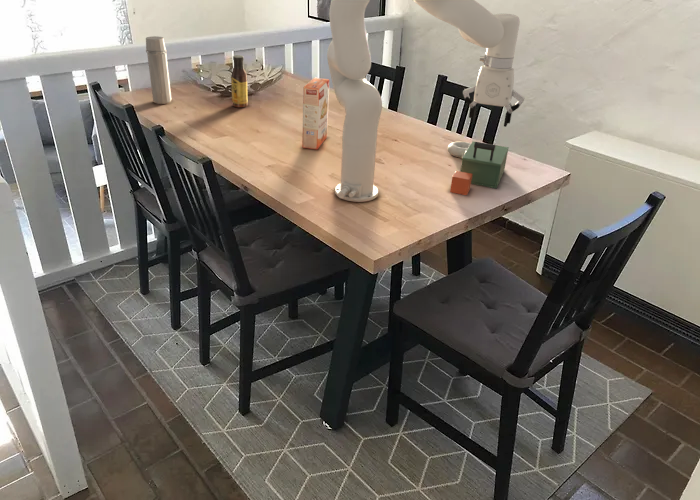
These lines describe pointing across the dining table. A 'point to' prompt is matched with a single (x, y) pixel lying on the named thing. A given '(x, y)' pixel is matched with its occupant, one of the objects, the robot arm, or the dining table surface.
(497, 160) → the lid
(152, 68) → the water bottle
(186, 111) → the dining table surface
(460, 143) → the donut
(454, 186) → the block
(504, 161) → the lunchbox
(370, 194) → the robot arm
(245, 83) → the sauce bottle
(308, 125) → the cracker box
